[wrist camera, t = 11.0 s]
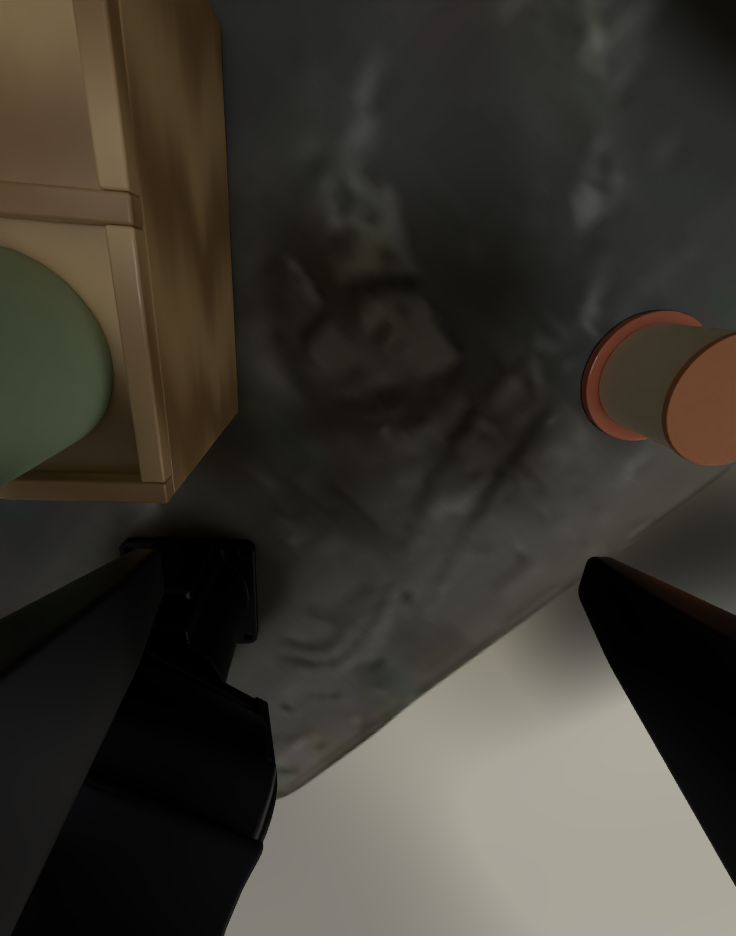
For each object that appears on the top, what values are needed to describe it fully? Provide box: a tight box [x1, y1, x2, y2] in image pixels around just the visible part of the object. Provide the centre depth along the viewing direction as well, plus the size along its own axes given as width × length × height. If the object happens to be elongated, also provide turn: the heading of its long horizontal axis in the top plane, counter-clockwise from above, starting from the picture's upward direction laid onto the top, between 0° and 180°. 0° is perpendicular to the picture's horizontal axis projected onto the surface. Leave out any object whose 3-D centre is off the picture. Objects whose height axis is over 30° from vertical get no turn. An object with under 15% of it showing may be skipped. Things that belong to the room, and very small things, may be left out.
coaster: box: [581, 310, 703, 441], centre depth 20 cm, size 6×6×1 cm
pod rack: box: [0, 0, 238, 503], centre depth 13 cm, size 13×7×9 cm, turn 176°
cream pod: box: [599, 323, 736, 466], centre depth 18 cm, size 5×5×5 cm
